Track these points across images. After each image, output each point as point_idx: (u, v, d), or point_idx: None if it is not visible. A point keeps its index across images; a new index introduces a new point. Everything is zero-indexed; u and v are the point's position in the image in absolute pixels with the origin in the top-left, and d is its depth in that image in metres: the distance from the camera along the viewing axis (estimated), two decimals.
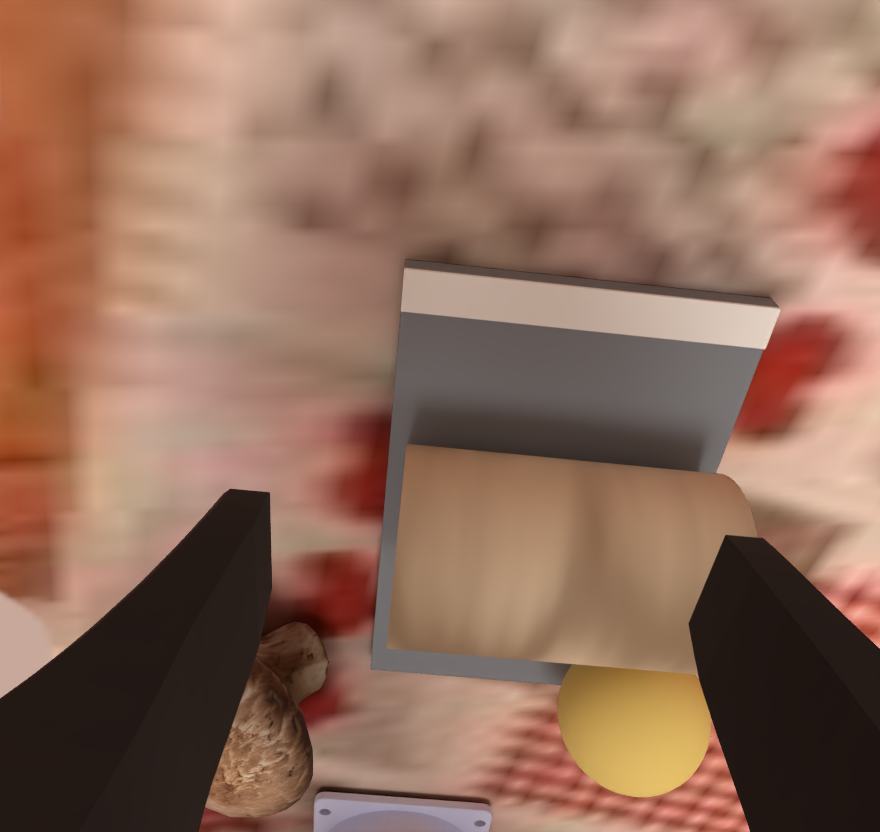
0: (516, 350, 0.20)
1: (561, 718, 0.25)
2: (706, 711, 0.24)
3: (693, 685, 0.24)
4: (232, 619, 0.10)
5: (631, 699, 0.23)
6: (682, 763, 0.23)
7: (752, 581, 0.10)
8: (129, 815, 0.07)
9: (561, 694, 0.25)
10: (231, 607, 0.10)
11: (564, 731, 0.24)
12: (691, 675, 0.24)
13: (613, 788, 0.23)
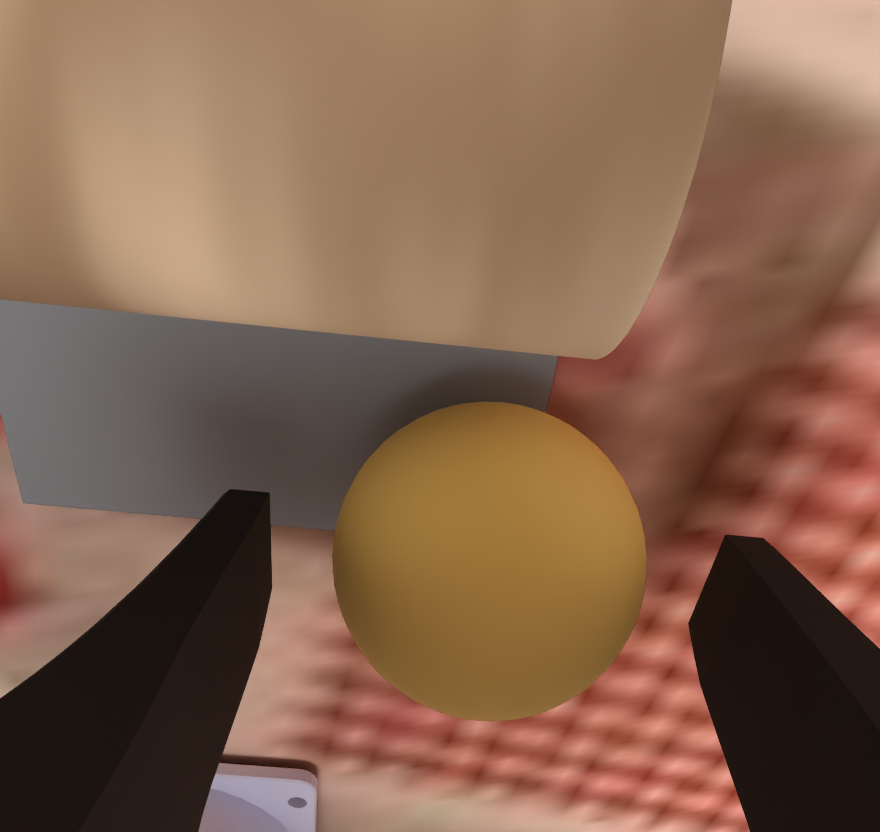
0: None
1: None
2: (633, 529, 0.11)
3: (606, 474, 0.11)
4: (232, 619, 0.10)
5: (456, 488, 0.10)
6: (573, 634, 0.10)
7: (752, 581, 0.10)
8: (128, 817, 0.07)
9: None
10: (231, 607, 0.10)
11: (334, 584, 0.11)
12: (604, 459, 0.11)
13: (426, 699, 0.11)
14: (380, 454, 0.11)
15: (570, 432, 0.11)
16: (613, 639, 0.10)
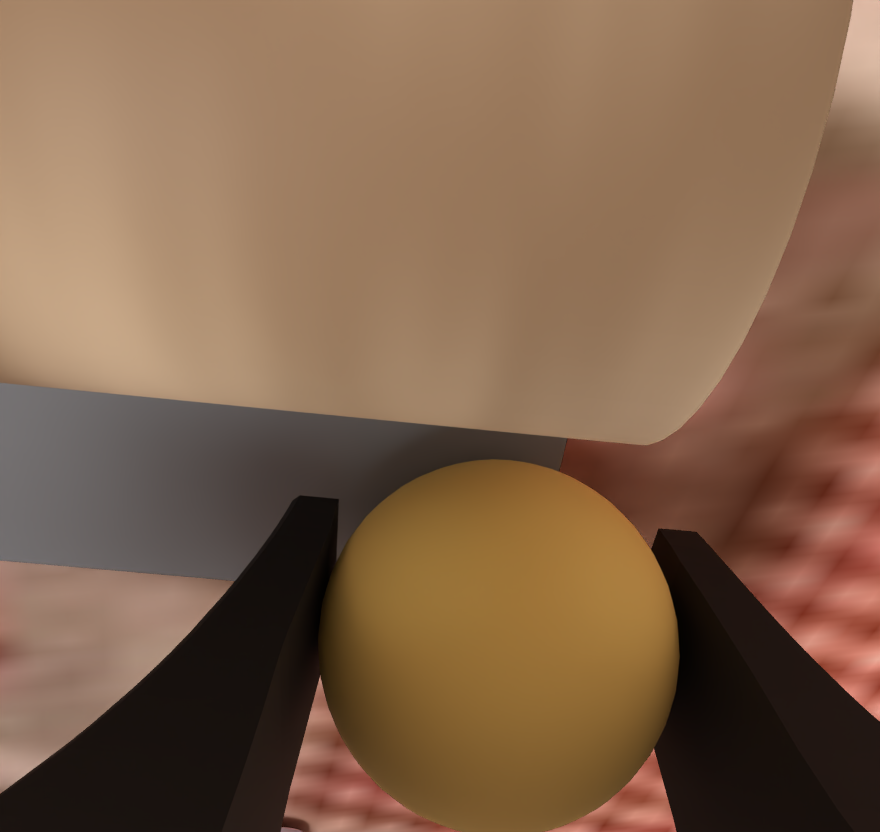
0: None
1: None
2: (666, 617, 0.09)
3: (635, 552, 0.09)
4: (311, 626, 0.10)
5: (460, 576, 0.08)
6: (597, 750, 0.08)
7: (679, 574, 0.10)
8: (245, 825, 0.07)
9: (326, 588, 0.10)
10: (311, 614, 0.10)
11: (320, 672, 0.10)
12: (631, 532, 0.10)
13: (425, 815, 0.09)
14: (372, 525, 0.10)
15: (591, 501, 0.10)
16: (643, 748, 0.09)
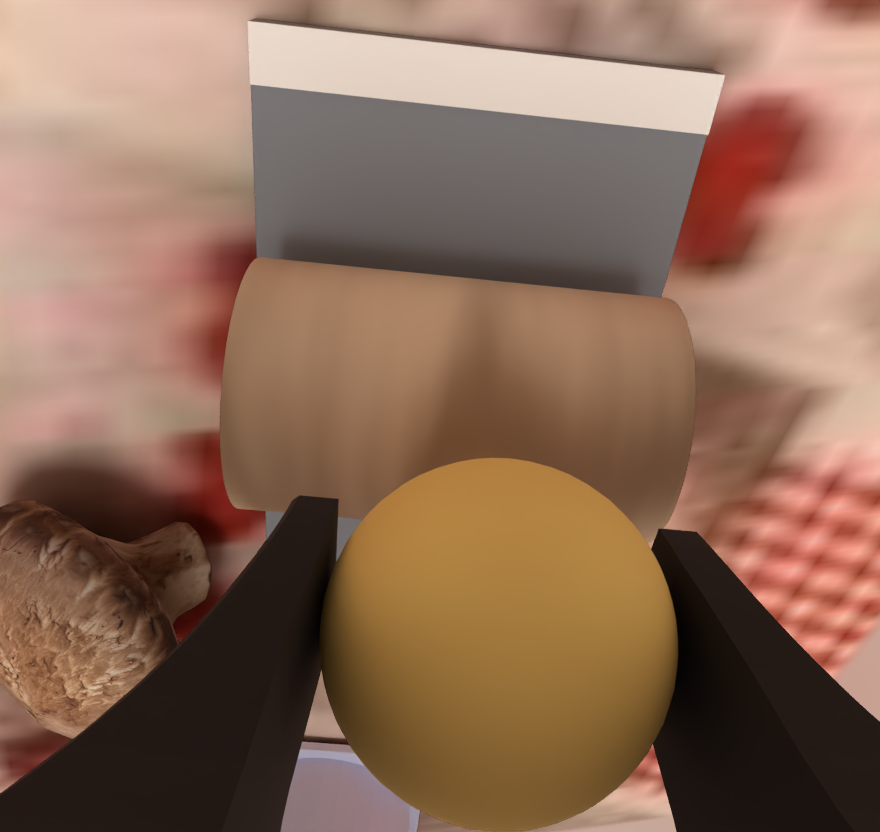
0: (400, 141, 0.16)
1: (319, 638, 0.10)
2: (663, 615, 0.09)
3: (632, 550, 0.09)
4: (310, 626, 0.10)
5: (455, 572, 0.09)
6: (591, 746, 0.08)
7: (679, 574, 0.10)
8: (244, 825, 0.07)
9: None
10: (311, 614, 0.10)
11: (321, 666, 0.10)
12: (629, 530, 0.10)
13: (421, 808, 0.09)
14: (372, 521, 0.10)
15: (590, 499, 0.10)
16: (638, 746, 0.09)
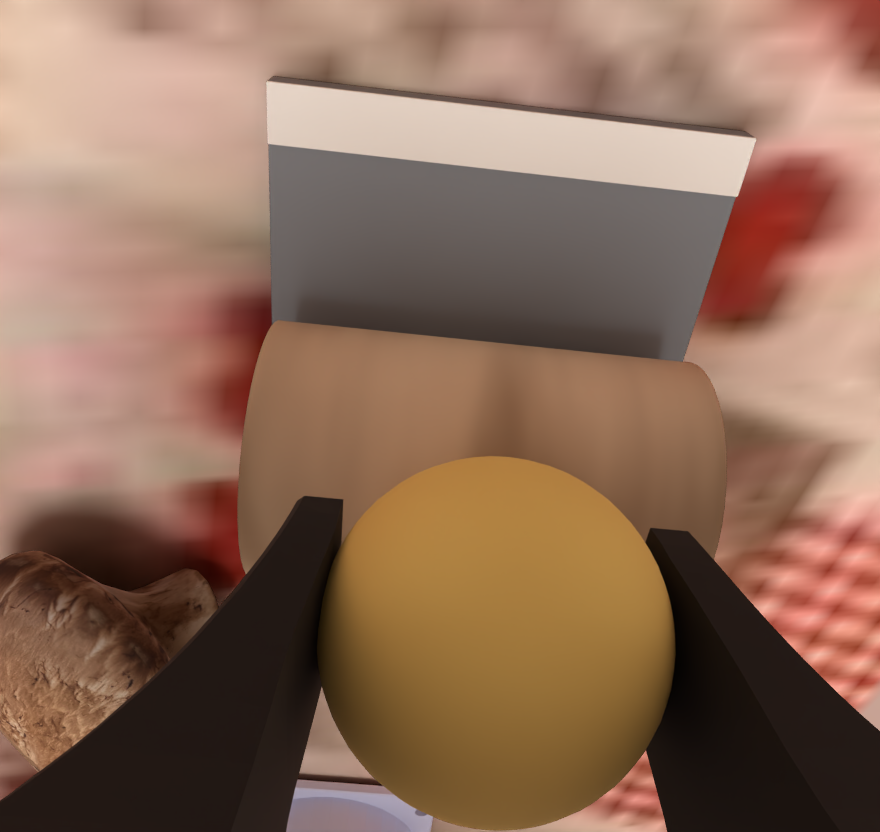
0: (421, 201, 0.16)
1: None
2: (660, 614, 0.09)
3: (629, 548, 0.09)
4: (316, 626, 0.10)
5: (452, 570, 0.09)
6: (588, 744, 0.08)
7: (669, 574, 0.10)
8: (251, 826, 0.07)
9: None
10: (316, 614, 0.10)
11: (318, 665, 0.10)
12: (626, 528, 0.10)
13: (418, 807, 0.09)
14: (369, 520, 0.10)
15: (586, 497, 0.10)
16: (636, 744, 0.09)
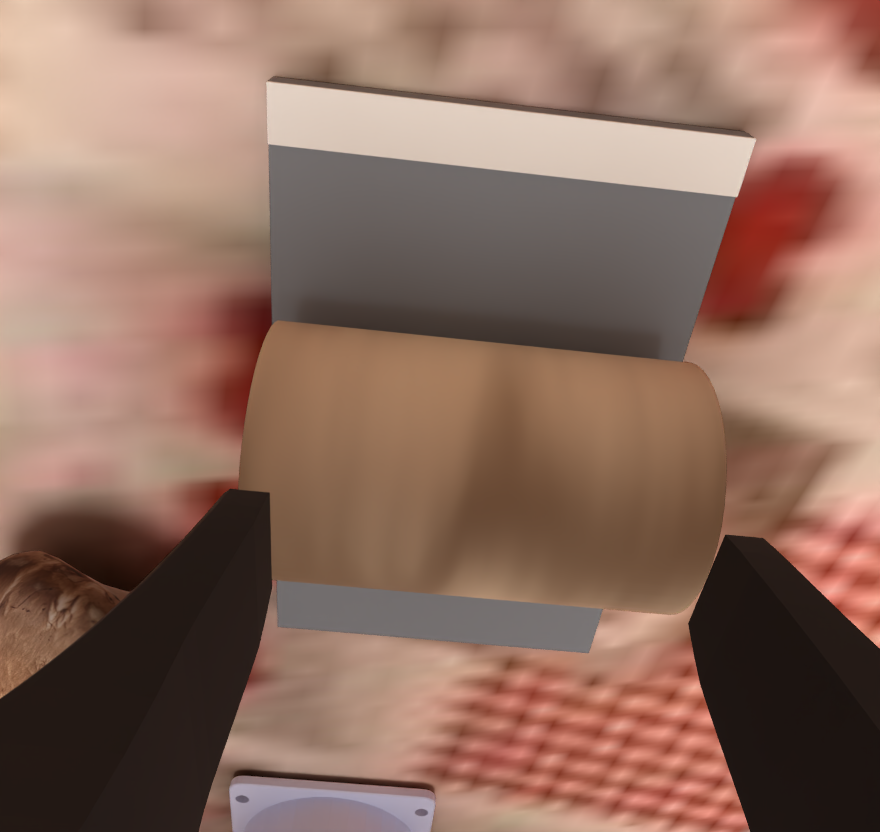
0: (420, 201, 0.16)
1: None
2: None
3: None
4: (232, 619, 0.10)
5: None
6: None
7: (752, 581, 0.10)
8: (128, 815, 0.07)
9: None
10: (231, 607, 0.10)
11: None
12: None
13: None
14: None
15: None
16: None
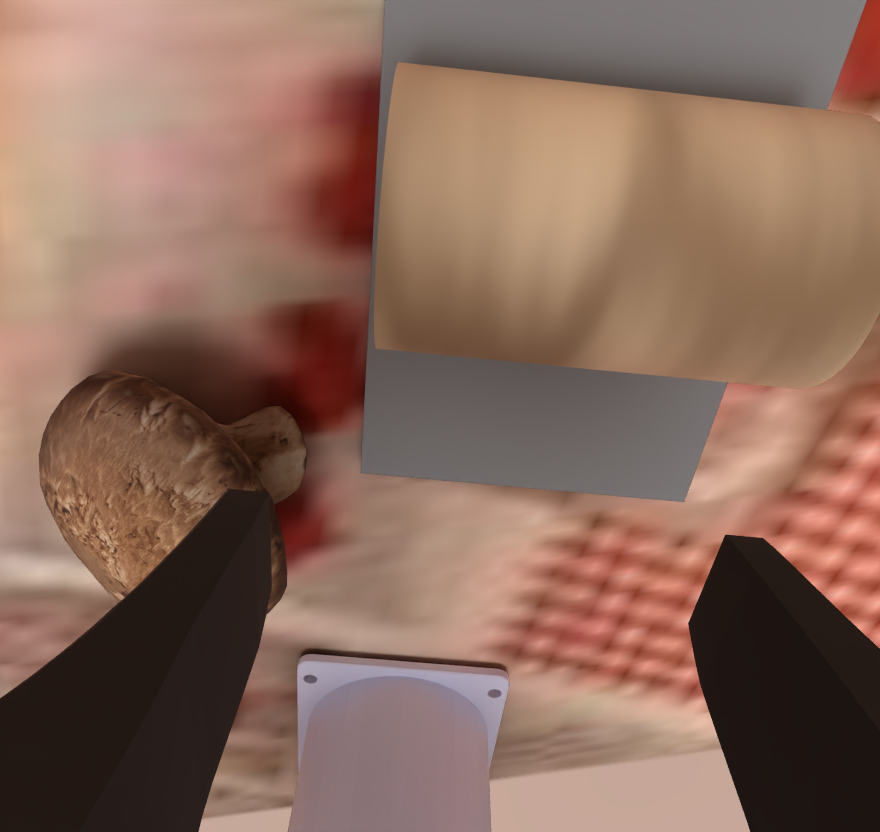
0: None
1: None
2: None
3: None
4: (232, 619, 0.10)
5: None
6: None
7: (752, 581, 0.10)
8: (128, 817, 0.07)
9: None
10: (231, 607, 0.10)
11: None
12: None
13: None
14: None
15: None
16: None
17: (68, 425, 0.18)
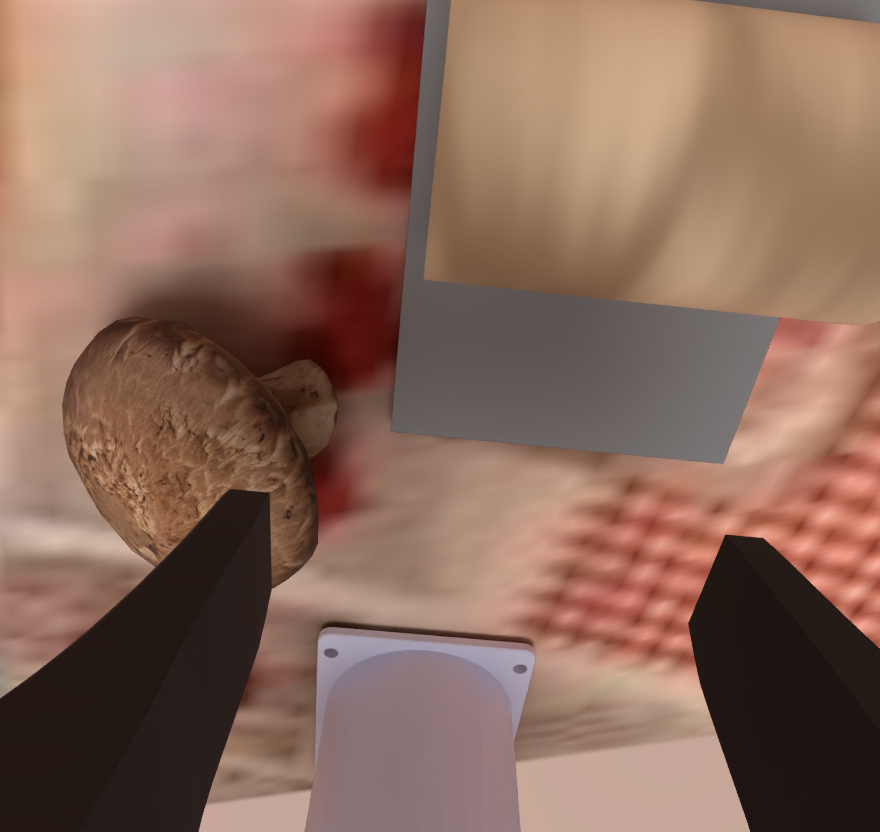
0: None
1: None
2: None
3: None
4: (232, 619, 0.10)
5: None
6: None
7: (752, 581, 0.10)
8: (129, 816, 0.07)
9: None
10: (231, 607, 0.10)
11: None
12: None
13: None
14: None
15: None
16: None
17: (95, 368, 0.17)
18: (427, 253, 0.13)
